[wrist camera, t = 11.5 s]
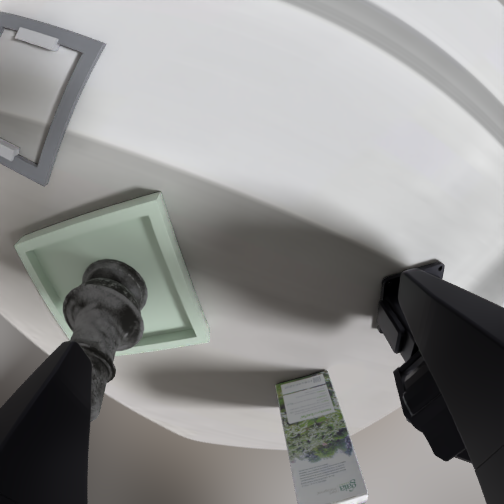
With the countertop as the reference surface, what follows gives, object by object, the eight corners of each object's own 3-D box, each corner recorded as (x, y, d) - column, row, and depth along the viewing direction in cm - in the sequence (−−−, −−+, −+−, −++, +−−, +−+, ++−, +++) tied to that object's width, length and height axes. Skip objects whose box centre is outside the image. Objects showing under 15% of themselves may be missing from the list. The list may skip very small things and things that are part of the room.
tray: (160, 191, 19) (156, 199, 17) (209, 329, 25) (209, 341, 24) (23, 236, 19) (13, 245, 17) (88, 347, 25) (84, 359, 24)
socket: (106, 43, 14) (101, 42, 13) (47, 184, 17) (42, 188, 17) (3, 12, 10) (-3, 11, 9) (-40, 137, 14) (-46, 140, 13)
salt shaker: (67, 289, 21) (8, 418, 11) (101, 239, 19) (27, 382, 9) (126, 329, 23) (97, 463, 13) (167, 288, 22) (145, 442, 11)
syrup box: (283, 408, 33) (306, 521, 20) (273, 382, 30) (299, 515, 17) (330, 395, 32) (365, 505, 20) (327, 367, 29) (370, 495, 17)
